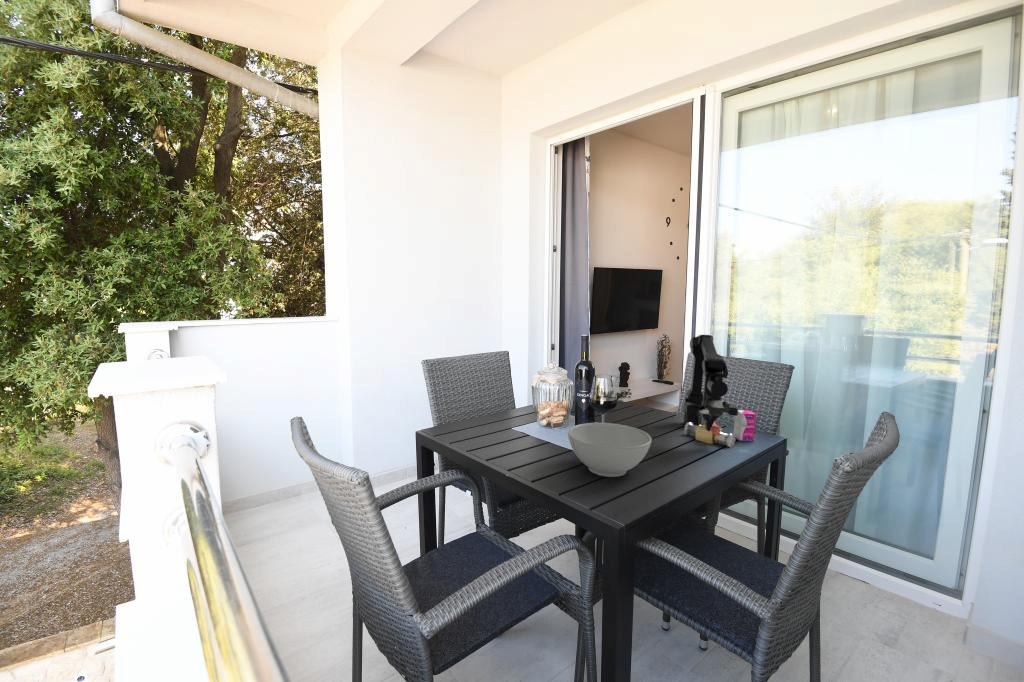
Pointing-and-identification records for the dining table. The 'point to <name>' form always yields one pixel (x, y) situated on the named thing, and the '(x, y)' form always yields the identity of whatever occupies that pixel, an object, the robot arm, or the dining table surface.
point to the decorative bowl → (609, 447)
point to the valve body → (709, 435)
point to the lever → (715, 429)
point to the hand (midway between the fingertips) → (708, 430)
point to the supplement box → (744, 425)
